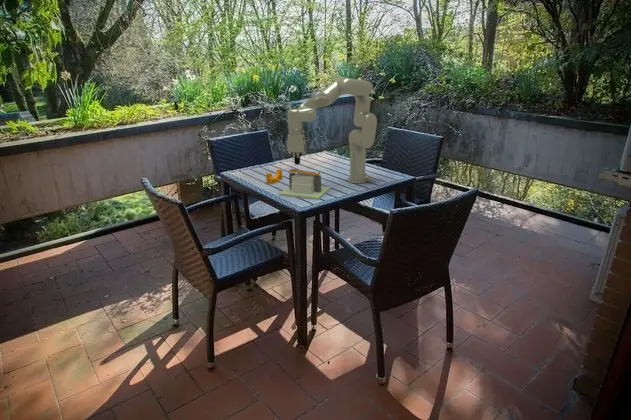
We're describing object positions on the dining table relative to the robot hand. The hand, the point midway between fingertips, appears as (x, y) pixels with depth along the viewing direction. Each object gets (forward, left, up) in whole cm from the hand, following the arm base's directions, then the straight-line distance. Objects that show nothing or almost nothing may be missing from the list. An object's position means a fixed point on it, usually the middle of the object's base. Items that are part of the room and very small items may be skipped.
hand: (297, 164), depth 239 cm
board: (-5, 0, -16) cm, 17 cm away
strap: (-4, 0, -5) cm, 7 cm away
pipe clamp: (+22, -14, -17) cm, 30 cm away
